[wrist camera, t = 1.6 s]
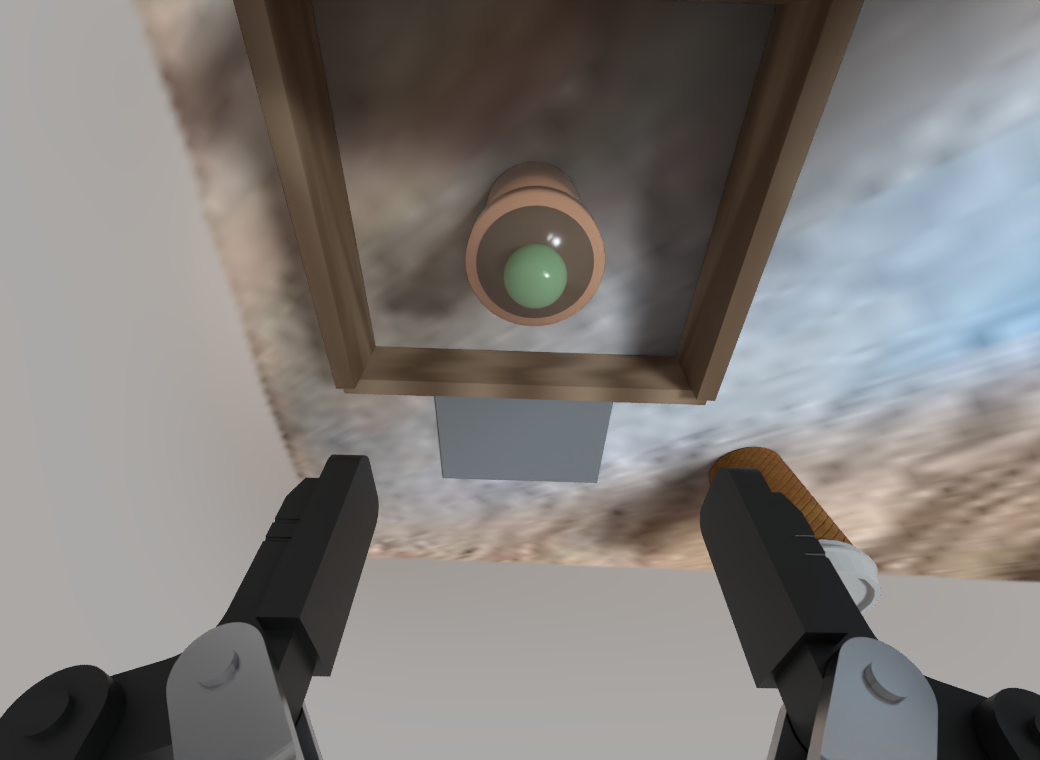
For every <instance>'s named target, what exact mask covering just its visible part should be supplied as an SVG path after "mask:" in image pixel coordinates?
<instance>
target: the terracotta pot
mask: <svg viewBox="0 0 1040 760" xmlns="http://www.w3.org/2000/svg"><path fill="white" fill-rule="evenodd" d="M604 265H605V252H604V246H603V241H602V238H601V236H600V233H599V230H598V227H597V225H596V223H595V221H594V219H593V217H592V215H591V214H590V213H589V211H588V210H587V209H586V208H585V207H584V206H583V204H582V203H581V202H580V199H579V196H578V193H577V191H576V188H575V186H574V184H573V183H572V181H571V180H570V179H569V177H568V176H567V175H566V174H565V173H564V172H562V171H561V170H560V169H558V168H556V167H555V166H552V165H550V164H547V163H543V162H525V163H521V164H518V165H515V166H513V167H511V168H510V169H508V170H507V171H505V172H504V173H503V174H502V175H501V176H500V177H499V178H498V179H497V180H496V182H495V183H494V185H493V187H492V189H491V191H490V193H489V196H488V200H487V204H486V208H485V209H484V210H483V211H482V212H481V214H480V215H479V217H478V218H477V220H476V222H475V224H474V226H473V228H472V231H471V234H470V238H469V241H468V245H467V250H466V272H467V276H468V280H469V282H470V285H471V287H472V289H473V291H474V293H475V295H476V296H477V298H478V299H479V300H480V302H481V303H482V304H483V305H484V306H485V307H486V308H487V309H489V310H490V311H491V312H492V313H494V314H495V315H497V316H498V317H500V318H502V319H504V320H507V321H509V322H512V323H515V324H520V325H526V326H542V325H549V324H553V323H557V322H559V321H562V320H564V319H566V318H568V317H570V316H572V315H573V314H575V313H576V312H578V311H579V310H580V309H581V308H583V307H584V306H585V305H586V304H587V303H588V302H589V300H590V299H591V298H592V296H593V295H594V294H595V292H596V290H597V288H598V286H599V284H600V282H601V279H602V276H603V271H604Z"/></svg>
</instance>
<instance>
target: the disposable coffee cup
mask: <svg viewBox="0 0 1040 760" xmlns="http://www.w3.org/2000/svg"><path fill="white" fill-rule="evenodd" d="M721 467H738V468H756V469H758V470H759V471H760V472H761V473H762V475H763V477H764V479H765V480H766V482H767V484H768V486H769V488H770V490H771V491H772V492H781V493H782V494H783V495H785V496H786V497H787V498H788V499H789V500H790V501H791V502H792V503H793V504H794V505H795V506H796V507H797V508H798V509H799V510H800V511H801V512H802V513H803V515H804V517H805V518H806V520H807V522H808V523H809V525H810V527H811V529H812V530H813V532H814V534H815V539H818V541H819V542H820V544H821V546H822V547H823V549H824V551H825V556H826V557H827V558H829V559H830V561H831V563H832V564H833V566H834V568H835V570H836V571H837V573H838V575H839V576H840V578H841V580H842V582H843V583H844V585H845V587H846V588H847V590H848V592H849V594H850V595H851V597H852V599H853V600H854V602H855V604H856V606H857V607H858V609H859V611H860V612H861V614H862V615H863V614H865V613H866V612H867V611H868V610H870V609H871V608H872V607H873V606H875V604H876V603H877V601H878V599H879V598H880V596H881V588H880V585H879V583H878V580H877V576H878V572H877V566H876V565H875V563H874V562H873V560H872V559H871V558H870V557H869V556H868V555H866V554H864V553H862V551H860V550H859V549H858V548H857V547H855V546H853V545H852V544H851V542H850V541H849V540H848V539H847V537H846V536H845V535H844V534H843V532H842V531H841V530H840V529H839V528H838V526H837V525H836V524H835V523H834V522H833V520H832V519H831V518H830V517H829V516H828V515H827V513H826V512H825V511H824V510H823V508H822V507H821V506H820V505H819V503H818V502H817V501H816V500H815V498H814V497H813V496H812V495H811V494H810V492H809V491H808V490H807V489H806V487H805V486H804V485H803V484H802V483H801V481H800V480H799V479H798V478H797V476H796V475H795V474H794V473H793V472H792V470H791V469H790V468H789V467H788V466H787V465H786V463H785V462H784V461H783V460H782V458H781V457H780V456H779V455H778V454H777V453H776V452H774V451H772V450H770V449H767V448H762V447H749V448H743V449H739V450H736V451H734V452H731V453H729V454H727V455H725V456H724V457H722V458H721V459H720V460H718V461H717V462H716V463H715V464H714V466H713V467H712V469H711V470H710V473H709V482H710V485H711V484H712V482H713V480H714V477H715V475H716V473H717V471H718V469H719V468H721Z"/></svg>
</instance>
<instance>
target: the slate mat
mask: <svg viewBox="0 0 1040 760" xmlns="http://www.w3.org/2000/svg"><path fill="white" fill-rule="evenodd" d="M435 400H436V410H437V420H438V429H439V439H440V449H441V459H442V469H443V478H457V479H489V480H521V481H554V482H586V483H597V479H598V474H599V469H600V464H601V459H602V454H603V449H604V444H605V439H606V434H607V429H608V424H609V419H610V414H611V409H612V404H613V402H600V401H569V400H539V399H508V398H478V397H447V396H435Z"/></svg>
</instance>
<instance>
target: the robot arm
mask: <svg viewBox="0 0 1040 760" xmlns="http://www.w3.org/2000/svg"><path fill="white" fill-rule="evenodd" d="M378 507H379V504H378V495H377V491H376V487H375V483H374V478H373V474H372V470H371V466H370V461H369V458H368V457H367V456H366V455H331V456H330V457H329V459H328V460H327V462H326V464H325V467H324V469H323V471H322V473H321V475H320V477H319V478H305V479H304V480H303V481H302V482H301V483H300V484H299V485H298V486H297V487H295V488H294V489H293V490H292V491H291V492H290V493H289V494H288V495H287V496H286V498H285V500H284V502H283V504H282V506H281V508H280V510H279V512H278V513H277V515H276V517H275V522H274V523H272V525H271V527H270V529H269V531H268V533H267V535H266V540H265V541H263V542H262V545H261V546H260V548H259V550H258V552H257V554H256V556H255V558H254V560H253V562H252V564H251V566H250V568H249V570H248V571H247V573H246V575H245V577H244V579H243V581H242V583H241V585H240V587H239V589H238V591H237V593H236V595H235V597H234V599H233V600H232V602H231V604H230V607H229V608H228V610H227V612H226V614H225V615H224V617H223V618H222V620H221V621H220V622H219V624H218V625H217V626H216V627H215V628H213V629H211V630H209V631H208V632H206V633H204V634H203V635H201V636H200V637H198V638H197V639H196V640H195V641H193V642H192V643H191V644H190V645H189V646H188V647H187V648H186V649H185V651H184V652H183V653H181V654H179V655H177V656H174V657H172V658H169V659H166V660H163V661H160V662H156V663H153V664H150V665H146V666H143V667H139V668H136V669H133V670H129V671H126V672H123V673H120V674H116V675H113V676H109V675H107V674H106V673H105V672H104V671H103V670H101V669H99V668H98V667H95V666H92V665H78V666H73V667H69V668H65V669H63V670H61V671H58V672H55V673H53V674H52V675H50V676H48V677H46V678H44V679H43V680H41V681H40V682H38V683H37V684H35V685H34V686H32V687H31V688H30V689H28V690H27V691H26V692H25V693H23V694H22V695H21V696H20V697H19V698H18V699H17V700H16V701H15V702H14V703H13V704H12V705H11V706H10V707H9V708H8V709H7V710H6V712H5V713H4V714H3V716H2V717H1V718H0V760H323V758H322V755H321V752H320V749H319V746H318V743H317V739H316V737H315V733H314V730H313V727H312V725H311V721H310V718H309V715H308V712H307V709H306V705H305V703H304V698H305V696H306V693H307V690H308V687H309V684H310V681H311V678H312V676H330V675H331V672H332V668H333V665H334V661H335V658H336V655H337V652H338V648H339V645H340V642H341V638H342V635H343V632H344V629H345V625H346V622H347V619H348V616H349V612H350V609H351V605H352V602H353V599H354V596H355V593H356V589H357V586H358V582H359V579H360V576H361V573H362V569H363V566H364V563H365V560H366V556H367V553H368V550H369V546H370V543H371V540H372V536H373V533H374V530H375V527H376V523H377V518H378ZM700 527H701V532H702V536H703V539H704V542H705V544H706V547H707V550H708V553H709V556H710V558H711V561H712V564H713V567H714V569H715V572H716V575H717V578H718V581H719V583H720V586H721V589H722V592H723V595H724V597H725V600H726V603H727V606H728V609H729V611H730V614H731V617H732V620H733V622H734V625H735V628H736V631H737V634H738V636H739V639H740V642H741V645H742V648H743V651H744V653H745V656H746V659H747V662H748V664H749V667H750V670H751V673H752V676H753V678H754V681H755V684H756V687H757V688H778V690H779V692H780V695H781V697H782V700H783V702H784V704H783V705H782V706H781V708H780V711H779V714H778V718H777V722H776V726H775V730H774V734H773V737H772V741H771V745H770V748H769V753H768V756H767V760H1040V695H1038V694H1036V693H1033V692H1031V691H1027V690H1024V689H1019V688H1007V689H1003V690H1001V691H1000V692H998V693H996V694H994V695H993V696H991V697H989V698H986V697H983V696H981V695H977V694H975V693H972V692H969V691H966V690H963V689H960V688H957V687H954V686H952V685H948V684H946V683H943V682H940V681H937V680H934V679H931V678H929V677H927V676H924V675H923V674H922V673H921V671H920V670H918V668H917V667H916V666H915V665H914V664H913V663H912V662H911V661H910V660H909V659H908V658H907V657H905V656H904V655H903V654H902V653H900V652H899V651H897V650H896V649H894V648H893V647H891V646H889V645H887V644H885V643H883V642H881V641H879V640H878V639H877V638H876V637H875V635H874V634H873V632H872V631H871V629H870V628H869V626H868V624H867V623H866V621H865V619H864V618H863V616H862V614H861V612H860V611H859V609H858V607H857V606H856V604H855V602H854V600H853V599H852V597H851V595H850V594H849V592H848V590H847V588H846V587H845V585H844V583H843V582H842V580H841V578H840V576H839V575H838V573H837V571H836V570H835V568H834V566H833V564H832V563H831V561H830V559H829V558H827V557H826V556H825V551H824V549H823V547H822V546H821V544H820V542H819V541H818V539H815V534H814V532H813V530H812V529H811V527H810V525H809V523H808V522H807V520H806V518H805V517H804V515H803V513H802V512H801V511H800V510H799V509H798V508H797V507H796V506H795V505H794V504H793V503H792V502H791V501H790V500H789V499H788V498H787V497H786V496H785V495H783V494H782V493H781V492H772V491H771V490H770V488H769V486H768V484H767V482H766V480H765V479H764V477H763V475H762V473H761V472H760V471H759V470H758V469H756V468H738V467H721V468H719V469H718V471H717V473H716V475H715V477H714V480H713V482H712V484H711V486H710V489H709V491H708V493H707V496H706V498H705V500H704V503H703V505H702V508H701V512H700Z"/></svg>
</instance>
